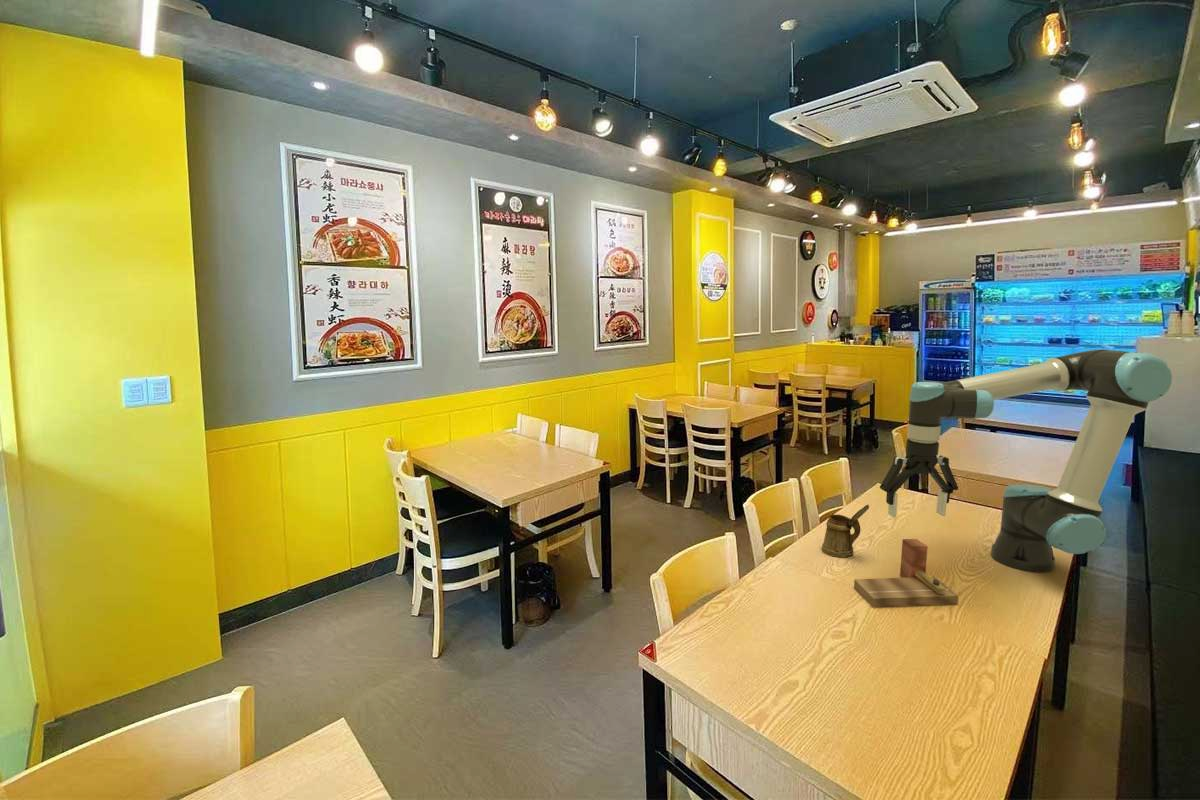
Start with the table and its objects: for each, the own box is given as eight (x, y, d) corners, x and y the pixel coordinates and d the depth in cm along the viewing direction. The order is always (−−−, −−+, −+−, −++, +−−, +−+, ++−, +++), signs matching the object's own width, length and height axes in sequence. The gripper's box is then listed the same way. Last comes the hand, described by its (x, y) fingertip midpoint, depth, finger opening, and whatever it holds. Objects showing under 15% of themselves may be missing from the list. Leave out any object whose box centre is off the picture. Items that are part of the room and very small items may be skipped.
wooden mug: (858, 565, 160) (861, 508, 157) (816, 550, 171) (818, 496, 168) (872, 557, 166) (876, 501, 163) (831, 542, 176) (833, 490, 173)
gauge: (913, 575, 154) (916, 538, 152) (948, 603, 139) (952, 563, 137) (900, 575, 153) (902, 539, 152) (933, 603, 139) (936, 563, 137)
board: (932, 585, 148) (933, 576, 148) (957, 604, 138) (958, 595, 138) (853, 587, 148) (854, 579, 147) (872, 607, 138) (873, 598, 138)
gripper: (959, 435, 148) (951, 508, 152) (869, 437, 148) (864, 510, 151) (978, 442, 141) (970, 518, 145) (884, 444, 141) (878, 521, 144)
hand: (916, 515), depth 148 cm, fingers open, 13 cm apart
